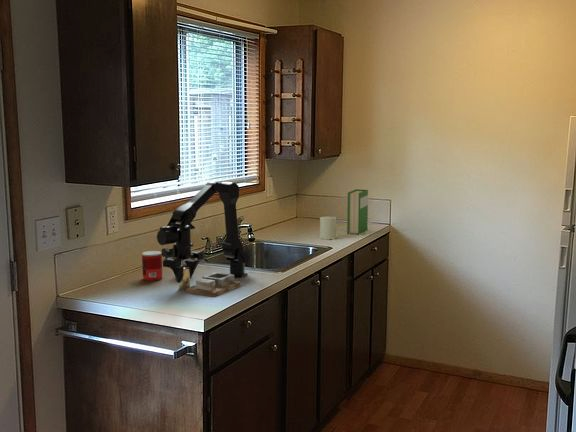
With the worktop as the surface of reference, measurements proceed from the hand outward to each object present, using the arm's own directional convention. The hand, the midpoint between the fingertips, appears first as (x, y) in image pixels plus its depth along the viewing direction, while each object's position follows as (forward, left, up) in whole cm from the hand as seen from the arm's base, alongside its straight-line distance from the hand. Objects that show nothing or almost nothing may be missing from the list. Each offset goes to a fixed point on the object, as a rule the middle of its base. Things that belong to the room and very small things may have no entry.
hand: (184, 280), depth 246 cm
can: (-122, +5, -3) cm, 122 cm away
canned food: (-6, -21, -3) cm, 22 cm away
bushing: (0, 0, -3) cm, 3 cm away
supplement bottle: (-15, -12, -3) cm, 19 cm away
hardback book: (-147, +12, -3) cm, 148 cm away
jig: (-5, +11, -3) cm, 12 cm away
